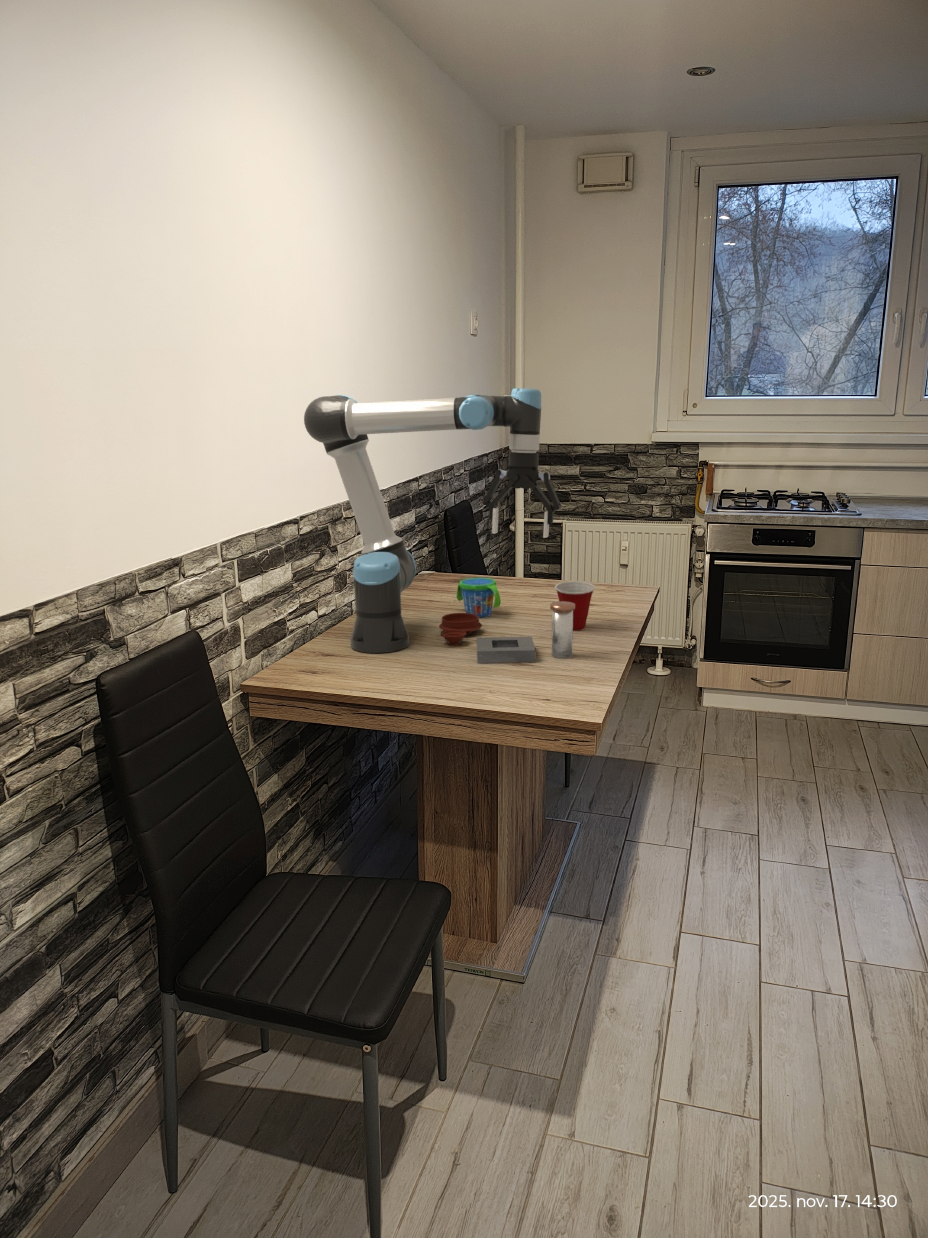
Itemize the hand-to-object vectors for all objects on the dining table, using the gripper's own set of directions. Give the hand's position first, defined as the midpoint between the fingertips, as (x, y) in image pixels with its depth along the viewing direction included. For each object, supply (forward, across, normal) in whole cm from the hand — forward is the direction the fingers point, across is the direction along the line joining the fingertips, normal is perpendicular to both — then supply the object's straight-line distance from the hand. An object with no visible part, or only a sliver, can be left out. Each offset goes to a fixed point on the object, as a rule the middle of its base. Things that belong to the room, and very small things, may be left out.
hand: (520, 535), depth 230 cm
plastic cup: (+26, -13, -12) cm, 32 cm away
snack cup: (+27, +16, -19) cm, 37 cm away
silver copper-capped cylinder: (+27, -16, +13) cm, 34 cm away
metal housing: (+28, -2, +17) cm, 32 cm away
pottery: (+28, +15, +3) cm, 32 cm away
